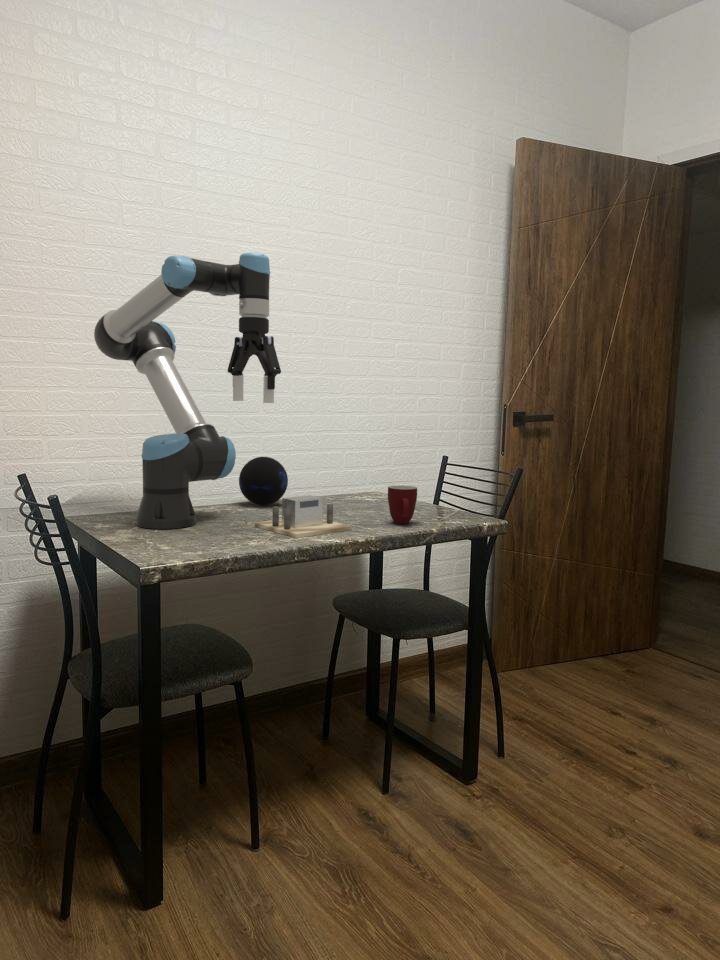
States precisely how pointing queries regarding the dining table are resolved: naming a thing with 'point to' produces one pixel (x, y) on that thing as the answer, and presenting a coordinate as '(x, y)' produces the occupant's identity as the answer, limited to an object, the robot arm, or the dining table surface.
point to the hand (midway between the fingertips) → (252, 402)
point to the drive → (303, 510)
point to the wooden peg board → (285, 529)
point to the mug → (402, 503)
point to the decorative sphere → (263, 480)
